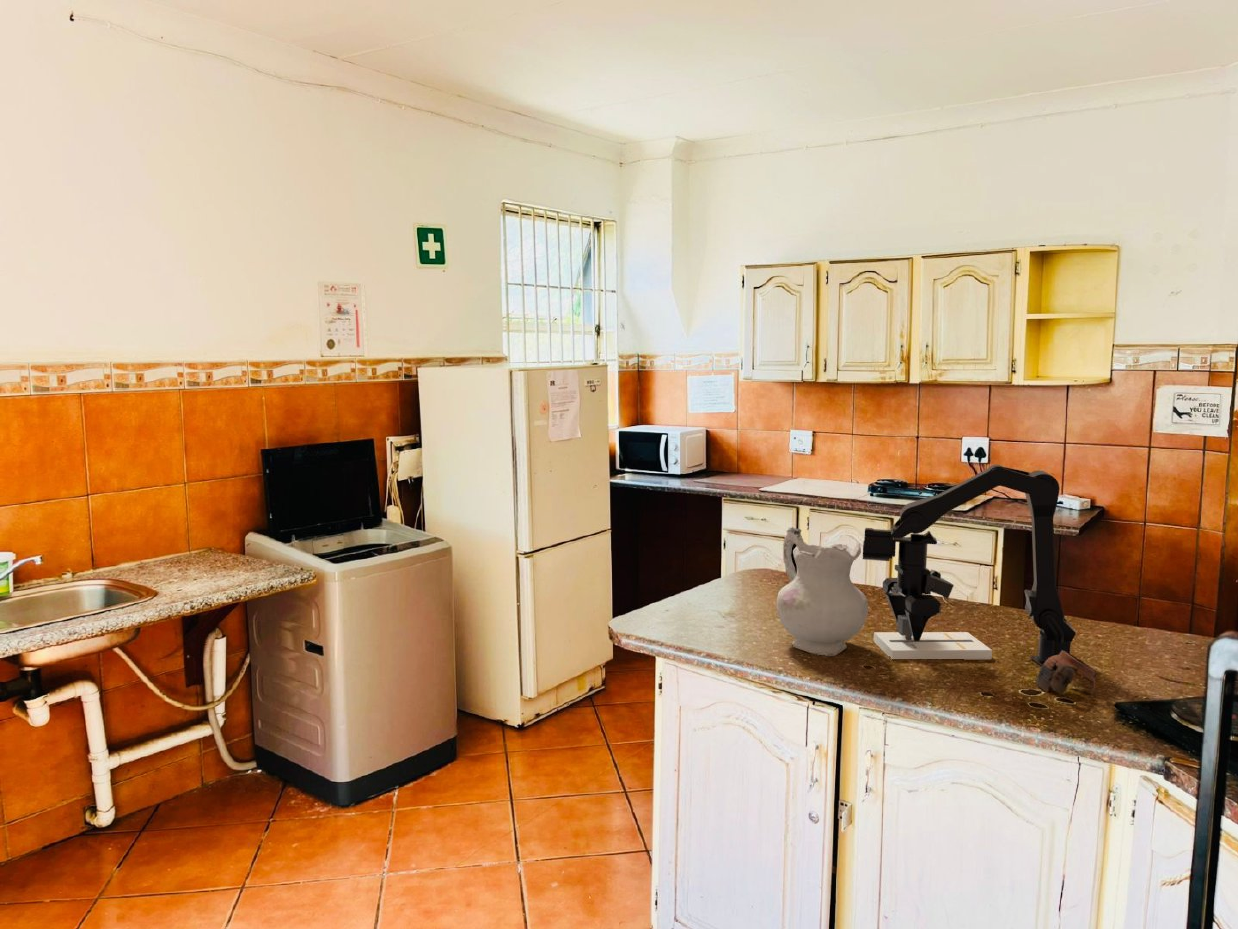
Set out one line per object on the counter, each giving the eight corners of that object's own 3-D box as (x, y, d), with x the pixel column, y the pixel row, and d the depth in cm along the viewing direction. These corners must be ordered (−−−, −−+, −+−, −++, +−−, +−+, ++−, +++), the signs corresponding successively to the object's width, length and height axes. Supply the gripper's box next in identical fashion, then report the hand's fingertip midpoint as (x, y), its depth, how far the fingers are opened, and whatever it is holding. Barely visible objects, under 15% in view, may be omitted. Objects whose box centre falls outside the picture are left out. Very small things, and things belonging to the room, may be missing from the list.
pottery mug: (1033, 679, 174) (1058, 645, 173) (1079, 710, 169) (1105, 675, 168) (1027, 682, 163) (1053, 646, 162) (1076, 715, 159) (1103, 678, 158)
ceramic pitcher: (750, 647, 193) (748, 537, 189) (799, 621, 207) (798, 519, 202) (836, 672, 178) (836, 554, 174) (884, 643, 192) (885, 533, 187)
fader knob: (920, 641, 187) (921, 619, 186) (901, 641, 187) (902, 619, 186) (914, 637, 190) (916, 614, 189) (896, 637, 190) (897, 614, 189)
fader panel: (991, 659, 183) (992, 649, 183) (892, 659, 183) (892, 650, 182) (967, 640, 195) (967, 632, 195) (873, 641, 194) (873, 632, 194)
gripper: (968, 573, 177) (964, 648, 179) (932, 553, 196) (929, 620, 198) (913, 573, 177) (910, 648, 179) (883, 553, 195) (880, 621, 197)
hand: (908, 634), depth 188 cm, fingers open, 9 cm apart
